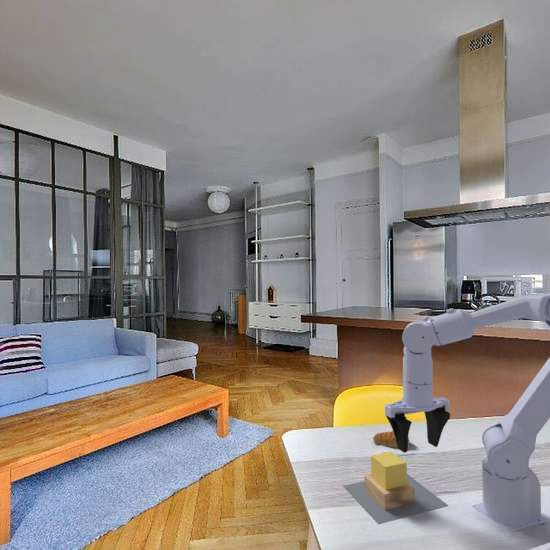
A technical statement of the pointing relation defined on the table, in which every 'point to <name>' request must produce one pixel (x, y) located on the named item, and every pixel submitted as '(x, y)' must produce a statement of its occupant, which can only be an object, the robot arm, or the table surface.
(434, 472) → the table surface
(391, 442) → the pastry
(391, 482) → the yellow block
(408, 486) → the oak block
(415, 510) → the board
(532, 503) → the robot arm
